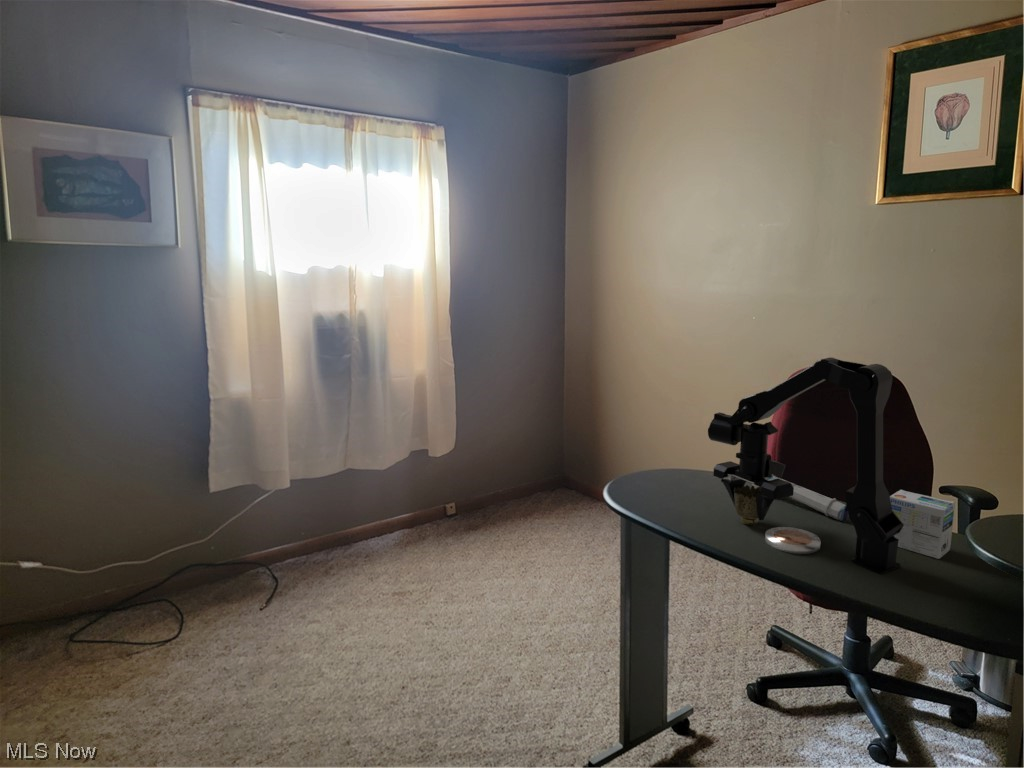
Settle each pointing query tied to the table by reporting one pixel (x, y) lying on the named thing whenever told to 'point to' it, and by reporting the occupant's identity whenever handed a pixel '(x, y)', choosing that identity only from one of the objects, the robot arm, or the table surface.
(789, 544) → the rosette plate
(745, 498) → the cup
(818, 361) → the robot arm
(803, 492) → the white long bar
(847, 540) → the table surface
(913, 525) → the light bulb box
